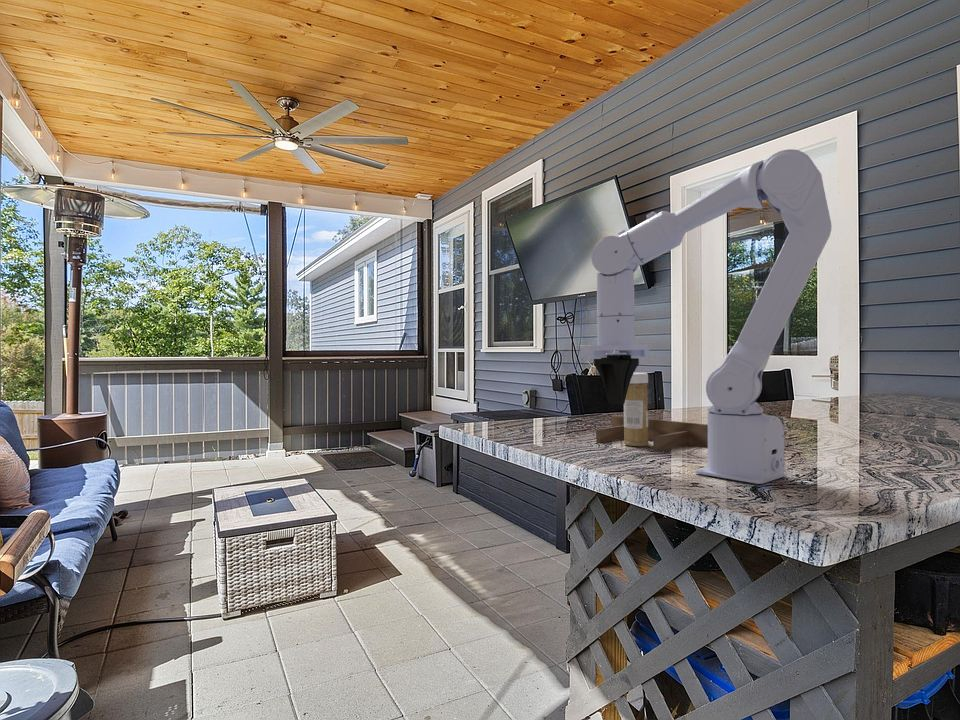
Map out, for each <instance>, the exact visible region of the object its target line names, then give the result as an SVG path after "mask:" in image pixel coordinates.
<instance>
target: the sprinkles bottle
mask: <svg viewBox="0 0 960 720" xmlns="http://www.w3.org/2000/svg"><path fill="white" fill-rule="evenodd" d="M648 383H649V374H648V373H647V372H634V373H633V375H632V378H631V380H630V383H629V387H628V391H627V395H626V399H625V403H624V404H623V416H624V440H623V444H624V445H626V446H629V447H646V446H648V445H649V443H650V441H649V439H648V419H649V411H648V410H649V409H648Z"/></svg>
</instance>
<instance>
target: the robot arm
mask: <svg viewBox="0 0 960 720" xmlns="http://www.w3.org/2000/svg"><path fill="white" fill-rule="evenodd" d="M826 196H827V195H826V191H825V186H824V181H823V176H822V173H821V172H820V170H819V169H818V167H817V166H816V164H815V163H814V161H813V160H812V159H811V157H810V156H809V155H808V154H806V153H805V152H803V151H801V150H798V149H794V148H793V149H790V148H789V149H783V150H780V151H777V152H775V153H773V154H772V155H770V156H769V157H768V158H767V159H766V160H765V161H764V160H760V161H757V162H754V163H752V164H751V165H750V166H748V167H747V168H745V169H743V170H742V171H740V172H739V173H738V174H736V175H735V176H733V177H732V178H730V179H728V180H727V181H725V182H724V183H722V184H720V185H718V186H717V187H714V189H712V190H710V191H709V192H707V193H706V194H704V195H702V196H700V197H699V198H698V199H696V200H694V201H692V202H691V203H689V204H687V205H685V206H684V207H682V208H681V209H679V210H678V211H676V212H669V211H664V210H661V211H660V212H658V213H656V212H655V211H651V212H650V213H648V214H646V219H645V220H644V221H642V222H640V223H639V224H637V225H635V226H633V227H631V228H629V229H627V230H625V229H622V230H620V231H618V236H616V235H606V236H604V237H603V238H602V239H601V240H600V241H598V242H597V243H596V244H595V245H594V247H593V249H592V251H591V262H592V263H591V264H592V265H593V268H595V270H596V271H597V272H596V285H597V286H596V327H597V329H596V331H597V333H596V336H597V339H596V340H597V341H596V342H597V343H596V344H597V345H596V344H595V345H580V347H579V348H580V349H579V351H580V354H579V355H580V357H579V358H580V359H593V365H594V367H595V368H596V371H597V373H598V374H599V376H600V380H601V381H602V384H603V386H604V390H605V393H606V398H607V401H608V404H609V405H619V406H620V405H624V403H625V399H626V395H627V391H628V387H629V383H630V380H631V378H632V375H633V373H635V372H636V370H637V368H638V366H639V364H640V361H639V360H640V359H639V357H643V358H645V357H649V356H650V344H636V343H635V342H636V335H635V333H636V331H635V329H636V327H635V325H636V324H635V323H636V321H635V320H636V319H635V318H636V317H635V285H634V284H635V280H634V279H635V277H634V276H635V272H636V271H637V270H638V268H639V265H640V266H643V265H645V264H647V263H648V262H650V261H652V260H654V259H657V258H658V257H660V256H662V255H664V254H666V253H668V252H670V251H671V250H673V249H675V248H677V247H678V246H680V245H681V244H682V241H683V239H684V236H685V234H686V233H688V232H690V231H692V230H695V229H696V228H698V227H700V226H703V225H704V224H707V223H709V222H710V221H713V220H715V219H716V218H719V217H721V216H723V215H726V214H727V213H730V212H731V211H734V210H735V209H737V208H746V209H747V208H748V209H758V210H761V209H762V210H763V209H764V206H763V205H764V204H763V202H765V201H766V202H767V204H768V205H769V206H770V208H771V209H773V210H774V211H775V212H776V213H777V214H778V215H780V217H781V218H782V221H783V223H784V225H785V227H786V228H787V232H788V235H787V237H786V239H785V241H784V243H783V245H782V247H781V249H780V251H779V253H778V255H777V258H776V260H775V262H774V263H773V266H772V268H771V269H770V272H769V274H768V275H767V278H766V280H765V282H764V285H763V286H762V288H761V290H760V293H759V294H758V297H757V299H756V300H755V303H754V304H753V307H752V309H751V311H750V313H749V315H748V317H747V319H746V321H745V324H744V325H743V327H742V329H741V332H740V334H739V336H738V338H737V340H736V341H735V344H733V346H732V347H731V349H730V350H729V352H728V354H727V356H726V358H725V360H724V361H723V363H722V364H721V365H720V366H719V367H718V368H716V369H714V371H712V372H711V374H710V375H709V376H708V378H707V379H706V382H705V383H706V384H705V393H706V396H707V398H708V400H709V401H710V403H711V404H712V405H711V406H708V407H707V424H708V447H707V466H705V467H701V468H697V469H695V470H694V471H695V474H699V475H704V476H711V477H716V478H721V479H725V480H727V479H728V480H732V481H738V482H744V483H751V484H754V485H755V484H757V485H762V484H766V483H768V482H772V481H775V480H778V479H780V478H783V477H787V475H788V473H787V472H785V429H784V425H783V422H782V420H781V419H780V418H779V417H778V416H776V415H770V414H769V415H768V414H765V413H764V408H763V407H762V406H760V404H759V402H757V399H758V398H759V397H760V396H761V395H760V394H761V393H762V390H763V380H762V377H763V373H764V370H765V369H766V367H767V364H768V362H769V359H770V356H771V354H772V351H774V348H775V346H776V344H777V342H778V340H779V338H780V336H781V334H782V332H783V330H784V328H785V327H786V324H787V322H788V320H789V318H790V317H791V314H792V312H793V310H794V308H795V306H796V304H797V302H798V300H799V299H800V296H801V295H802V292H803V290H804V288H805V287H806V284H807V283H808V280H809V278H810V276H811V274H812V272H813V270H814V268H815V266H816V265H817V262H818V261H819V259H820V256H821V254H822V253H823V250H824V248H825V246H826V245H827V243H828V240H829V239H830V237H831V232H832V220H831V216H830V211H829V207H828V201H827V197H826ZM614 351H618V353H614ZM637 357H638V358H637Z"/></svg>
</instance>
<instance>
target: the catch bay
mask: <svg viewBox="0 0 960 720" xmlns="http://www.w3.org/2000/svg"><path fill="white" fill-rule="evenodd" d="M595 434H596V435H595V436H596V437H595V439H596V441H595V442H596V443H599V444H601V443H606V442H607V443H608V442H611V441H617V440H623V439H624V415H617V414H615V415H614V414H612V415H611V426H610V427H602V428H597V429H595ZM649 440H650V441H653V442H652V443H653V445H652V447H653V452H661V451H665V450H670V449H671V450H672V449H675V448H680V447H685V446H695V447H704V448H708V423H707V424H705V423H696V422H687V421H678V420H677V421H675V420H667V419H666V420H665V419H655V418H648V441H649Z"/></svg>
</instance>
